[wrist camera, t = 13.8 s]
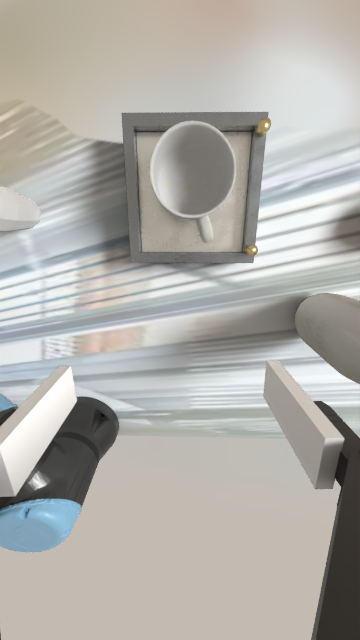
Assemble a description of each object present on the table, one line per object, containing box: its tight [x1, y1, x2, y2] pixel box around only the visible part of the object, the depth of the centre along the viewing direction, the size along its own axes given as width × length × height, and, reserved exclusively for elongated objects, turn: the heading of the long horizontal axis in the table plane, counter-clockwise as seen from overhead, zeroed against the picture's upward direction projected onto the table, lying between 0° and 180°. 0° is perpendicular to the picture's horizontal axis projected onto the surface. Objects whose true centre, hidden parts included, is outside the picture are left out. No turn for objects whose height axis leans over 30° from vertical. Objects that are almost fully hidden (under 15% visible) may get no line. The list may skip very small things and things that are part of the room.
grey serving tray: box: [122, 112, 271, 263], centre depth 37 cm, size 20×20×7 cm
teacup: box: [149, 121, 236, 243], centre depth 33 cm, size 14×11×8 cm
